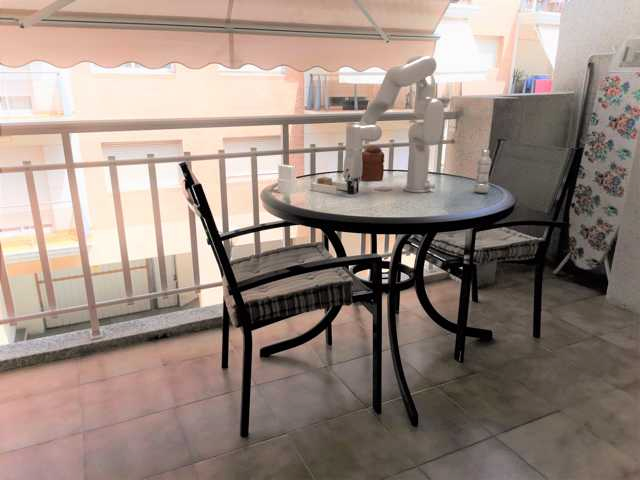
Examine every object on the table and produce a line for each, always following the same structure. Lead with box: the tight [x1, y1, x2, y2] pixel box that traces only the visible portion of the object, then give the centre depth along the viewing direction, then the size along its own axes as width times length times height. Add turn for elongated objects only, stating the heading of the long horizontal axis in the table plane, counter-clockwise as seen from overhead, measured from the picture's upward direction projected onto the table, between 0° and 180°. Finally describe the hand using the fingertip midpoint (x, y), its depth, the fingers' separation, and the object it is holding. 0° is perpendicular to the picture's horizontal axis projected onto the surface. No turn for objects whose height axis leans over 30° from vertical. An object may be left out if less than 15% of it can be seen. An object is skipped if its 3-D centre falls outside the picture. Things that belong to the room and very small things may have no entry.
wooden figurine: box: [360, 145, 385, 182], centre depth 246 cm, size 12×6×18 cm, turn 101°
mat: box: [335, 190, 366, 198], centre depth 218 cm, size 8×12×1 cm
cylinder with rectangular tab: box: [277, 164, 298, 195], centre depth 221 cm, size 9×9×12 cm
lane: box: [310, 180, 347, 195], centre depth 224 cm, size 14×10×4 cm
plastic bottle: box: [473, 149, 492, 194], centre depth 219 cm, size 6×7×20 cm
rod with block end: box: [316, 176, 357, 194], centre depth 221 cm, size 20×5×6 cm, turn 55°
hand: (352, 192), depth 217 cm, fingers closed on rod with block end, 3 cm apart
